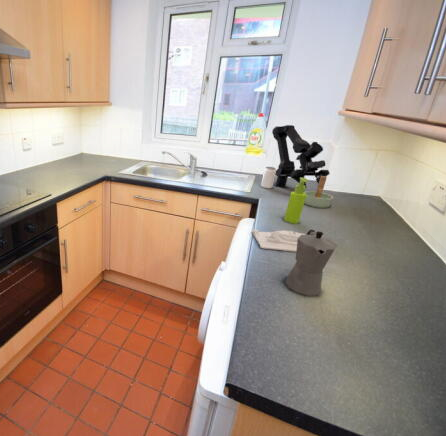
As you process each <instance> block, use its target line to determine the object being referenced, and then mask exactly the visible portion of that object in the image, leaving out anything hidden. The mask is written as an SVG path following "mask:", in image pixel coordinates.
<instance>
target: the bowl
mask: <svg viewBox="0 0 446 436" xmlns="http://www.w3.org/2000/svg"><path fill="white" fill-rule="evenodd" d="M316 191H317V190H306V191H305V190H304V193H305V194H307V195H306V199H305V202H304V205H306V206H308V207H313V208H318V209H319V208H320V209H327V208H329V207H331V206H332V203H333V200H334V196H333V195H331V194H328V193H325V192H322V194H321V197H322V198H323V199H321V198H316V197H312V196H315V194H316Z"/></svg>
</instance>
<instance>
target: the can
mask: <svg viewBox="0 0 446 436" xmlns="http://www.w3.org/2000/svg"><path fill="white" fill-rule="evenodd" d="M276 170H277V168H276V167H273V166H265V168H264V170H263V176H262V178H261V184H260V187H261V188H264V189H272V188H273V185H274V183H275V182H274V181H275V179H276V176H275V174H276Z"/></svg>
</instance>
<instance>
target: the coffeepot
mask: <svg viewBox="0 0 446 436" xmlns="http://www.w3.org/2000/svg"><path fill="white" fill-rule="evenodd" d="M323 235H324V232H323V231H315V230H314V229H309V230H308V232H307V234H305V235H301V236H300V237H299V238H298V241H297V250H296V252H295V260H296V261H295V263H294V265H293V266H292V268H291V270H290V272H289V273H288V276H287V277H286V280H285V281H284V283H285V285H286V286H287V287H288V288H289V289H290V290H291V291H293V292H295V293H296V294H299V295H303V296H308V297H314V296H318V295H319V294H320V292H321V289H322V282H323V273H324V272H323V270H324V269H325V267H326V265H327V264H328V262H329V260H330V258H331V256H332V255H333V253H334V251H335V250H336V248H337V247H338V245H337V244H336V243H335V242H333V241H332V240H330V239H329V238H326V237H323Z"/></svg>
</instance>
